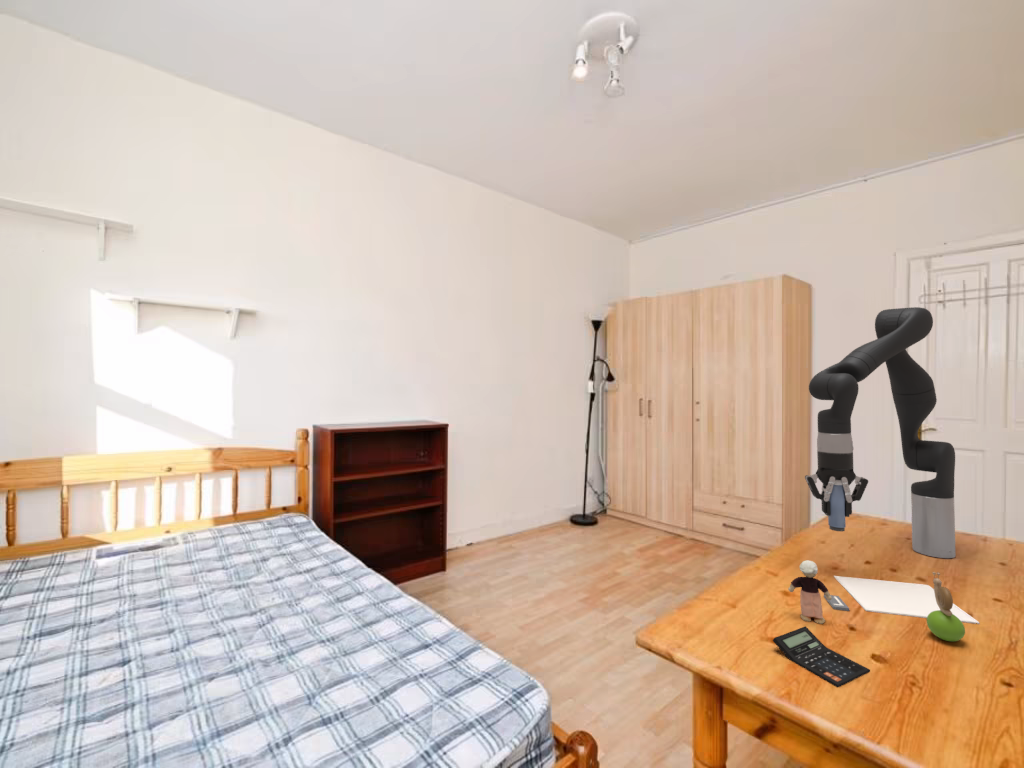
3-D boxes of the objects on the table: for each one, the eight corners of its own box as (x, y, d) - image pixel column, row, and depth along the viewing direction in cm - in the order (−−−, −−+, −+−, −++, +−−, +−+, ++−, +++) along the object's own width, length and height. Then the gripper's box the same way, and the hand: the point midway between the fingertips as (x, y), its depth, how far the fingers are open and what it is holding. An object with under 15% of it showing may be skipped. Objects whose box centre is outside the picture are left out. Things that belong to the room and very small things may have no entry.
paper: (833, 576, 115) (833, 575, 115) (927, 586, 109) (927, 584, 109) (865, 610, 98) (865, 609, 98) (979, 624, 92) (979, 622, 92)
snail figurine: (954, 632, 89) (953, 573, 89) (971, 650, 83) (969, 587, 83) (920, 626, 91) (918, 569, 91) (934, 643, 86) (932, 582, 86)
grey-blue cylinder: (826, 526, 116) (824, 477, 116) (842, 527, 115) (841, 477, 115) (831, 531, 113) (829, 480, 113) (848, 532, 111) (846, 480, 111)
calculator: (837, 690, 74) (837, 672, 74) (772, 652, 85) (772, 636, 85) (869, 674, 78) (869, 657, 78) (803, 640, 88) (803, 625, 88)
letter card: (823, 596, 105) (823, 593, 105) (838, 598, 104) (838, 595, 104) (833, 609, 99) (833, 606, 99) (849, 611, 98) (849, 607, 98)
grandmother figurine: (827, 617, 96) (826, 559, 96) (833, 626, 92) (832, 566, 92) (787, 611, 98) (785, 555, 98) (791, 620, 95) (790, 562, 95)
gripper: (861, 448, 115) (863, 513, 115) (799, 447, 120) (800, 509, 120) (874, 452, 108) (876, 522, 108) (807, 451, 113) (809, 517, 113)
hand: (836, 515), depth 114 cm, fingers closed on grey-blue cylinder, 3 cm apart
